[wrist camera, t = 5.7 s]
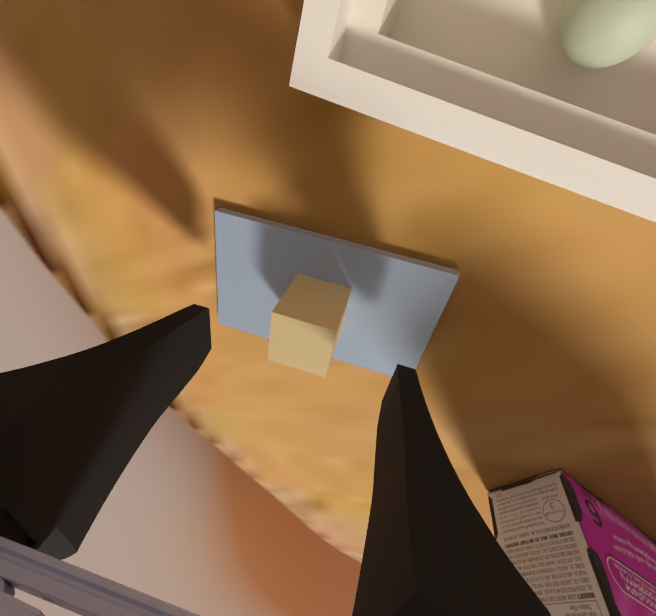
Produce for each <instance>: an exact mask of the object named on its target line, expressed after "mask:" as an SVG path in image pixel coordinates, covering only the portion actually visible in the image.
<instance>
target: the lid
mask: <svg viewBox="0 0 656 616" xmlns="http://www.w3.org/2000/svg"><path fill="white" fill-rule="evenodd" d="M215 237H216V265H217V293H218V321H219V324H221V325H224V326H227V327H231V328H234V329H237V330H241V331H244V332H247V333H251V334H254V335H257V336H260V337H264V338H267V339H269V347H268V358H267V360H270V361H273V362H276V363H279V364H283V365H286V366H289V367H292V368H295V369H299V370H302V371H305V372H308V373H312V374H315V375H318V376H321V377H326V374H327V371H328V369H329V366H330V363H331V360H332V358H333V359H336V360H340V361H343V362H346V363H350V364H353V365H356V366H359V367H363V368H366V369H369V370H373V371H376V372H379V373H383V374H386V375H389V376H393V374H394V371H395V369H396V366H397V364H400V365H403V366H407V367H410V368H413V369H416V367H417V365H418V363H419V360H420V358H421V356H422V354H423V352H424V350H425V348H426V346H427V344H428V342H429V339H430V337H431V335H432V333H433V331H434V329H435V327H436V325H437V323H438V321H439V318H440V316H441V314H442V312H443V310H444V308H445V306H446V304H447V302H448V300H449V297H450V295H451V293H452V291H453V289H454V287H455V285H456V283H457V281H458V279H459V276H460V275H459V270H457V269H453V268H449V267H445V266H441V265H438V264H434V263H430V262H426V261H422V260H419V259H415V258H411V257H407V256H404V255H400V254H396V253H392V252H388V251H385V250H381V249H377V248H373V247H369V246H366V245H362V244H358V243H354V242H351V241H347V240H343V239H339V238H335V237H332V236H328V235H324V234H320V233H316V232H313V231H309V230H305V229H301V228H298V227H294V226H290V225H286V224H282V223H279V222H275V221H271V220H267V219H263V218H260V217H256V216H252V215H248V214H244V213H241V212H237V211H233V210H229V209H226V208H222V207H220V208H218V209H217V210H215Z"/></svg>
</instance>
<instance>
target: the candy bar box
mask: <svg viewBox="0 0 656 616" xmlns="http://www.w3.org/2000/svg"><path fill="white" fill-rule="evenodd" d="M488 499H489V504H490V510H491V516H492V522H493V529H494V535H495V539H496V541H497V542H498V543H499V545H500V546H501V548H502V549H503V551H504V552H505V553H506V555H507V556H508V558H509V559H510V561H511V562H512V563H513V565H514V566H515V568H516V569H517V570H518V572H519V573H520V574H521V575H522V577H523V578H524V579H525V581H526V582H527V583H528V585H529V586H530V587H531V589H532V590H533V591H534V592H535V594H536V595H537V596H538V598H539V599H540V600H541V602H542V603H543V604H544V606H545V607H546V608H547V609H548V611H549V612H550V614H551V616H656V542H655V541H653V540H652V539H651V538H649V537H648V536H647V535H645V534H644V533H643V532H641V531H640V530H639V529H637V528H636V527H635V526H633V525H632V524H631V523H630V522H628V521H627V520H626V519H624V518H623V517H622V516H620V515H619V514H618V513H617V512H615V511H614V510H612V509H611V508H610V507H608V506H607V505H606V504H605V503H603V502H602V501H601V500H599V499H598V498H597V497H595V496H594V495H593V494H591V493H590V492H589V491H588V490H586V489H585V488H584V487H582V486H581V485H580V484H579V483H577V482H576V481H574V480H573V479H572V478H571V477H569V476H568V475H567V474H566V473H564V472H563V471H561V470H557V471H551V472H547V473H543V474H540V475H537V476H535V477H532V478H530V479H527V480H524V481H521V482H519V483H516V484H514V485H510V486H507V487H503V488H500V489H498V490H495V491H492V492H489V493H488Z"/></svg>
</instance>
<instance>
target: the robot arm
mask: <svg viewBox="0 0 656 616" xmlns="http://www.w3.org/2000/svg"><path fill="white" fill-rule="evenodd" d="M210 350H211V332H210V315H209V308H206V307H203V306H199V305H196V304H193V305H191V306H188V307H186V308H184V309H182V310H179V311H177V312H175V313H173V314H171V315H169V316H167V317H164V318H162V319H160V320H158V321H156V322H153V323H151V324H149V325H147V326H145V327H142V328H140V329H138V330H136V331H133V332H131V333H128V334H126V335H123V336H121V337H118V338H116V339H114V340H111V341H109V342H106V343H104V344H101V345H98V346H96V347H93V348H90V349H87V350H84V351H81V352H78V353H75V354H71V355H68V356H65V357H61V358H58V359H54V360H51V361H47V362H43V363H40V364H36V365H33V366H29V367H25V368H21V369H16V370H12V371H8V372H3V373H0V616H45V615H44V614H43V613H42V612H41V611H40V610H39V609H37V608H35V607H33V606H31V605H29V604H27V603H25V602H23V601H21V600H19V599H17V598H15V597H14V595H15V590H14V588H17V589H19V590H22V591H24V592H26V593H29V594H32V595H34V596H36V597H39V598H41V599H43V600H46V601H48V602H51V603H53V604H56V605H58V606H60V607H63V608H65V609H68V610H70V611H72V612H75V613H77V614H80V615H82V616H200V615H198V614H195V613H192V612H190V611H188V610H185V609H183V608H180V607H177V606H175V605H172V604H170V603H167V602H165V601H162V600H160V599H157V598H155V597H152V596H150V595H147V594H145V593H142V592H140V591H137V590H135V589H132V588H130V587H127V586H125V585H122V584H119V583H117V582H115V581H112V580H109V579H107V578H104V577H102V576H99V575H97V574H94V573H92V572H89V571H87V570H84V569H82V568H79V567H77V566H74V565H71V564H69V563H67V562H64V561H62V559H65V558H67V557H69V556H71V555H73V554H75V553H76V552H77V551H78V549H79V547H80V545H81V543H82V541H83V539H84V538H85V536H86V534H87V532H88V530H89V529H90V527H91V525H92V523H93V521H94V520H95V518H96V516H97V514H98V512H99V511H100V509H101V507H102V505H103V504H104V502H105V500H106V499H107V497H108V495H109V494H110V492H111V490H112V489H113V487H114V485H115V484H116V482H117V480H118V478H119V477H120V475H121V474H122V472H123V471H124V469H125V467H126V466H127V464H128V462H129V461H130V459H131V458H132V456H133V455H134V453H135V452H136V450H137V448H138V447H139V446H140V444H141V443H142V441H143V440H144V438H145V437H146V435H147V434H148V432H149V431H150V429H151V428H152V426H153V425H154V424H155V423H156V421H157V420H158V419H159V417H160V416H161V415H162V414H163V412H164V411H165V410H166V409H167V408H168V406H169V405H170V404H171V403H172V402H173V400H174V399H175V398H176V397H177V396H178V394H179V393H180V392H181V391H182V389H183V388H184V387H185V386H186V385H187V383H188V382H189V381H190V380H191V378H192V377H193V376H194V375H195V373H196V372H197V371H198V369H199V368H200V366H201V365H202V363H203V362H204V360H205V358H206V357H207V355H208V353H209V352H210ZM26 546H27V547H26ZM31 548H32V549H31ZM36 550H37V551H36ZM41 552H42V553H41ZM352 616H551V614H550V612H549V611H548V609H547V608H546V607H545V606H544V604H543V603H542V602H541V600H540V599H539V598H538V596H537V595H536V594H535V592H534V591H533V590H532V589H531V587H530V586H529V585H528V583H527V582H526V581H525V579H524V578H523V577H522V575H521V574H520V573H519V572H518V570H517V569H516V568H515V566H514V565H513V563H512V562H511V561H510V559H509V558H508V556H507V555H506V553H505V552H504V551H503V549H502V548H501V546H500V545H499V543H498V542H497V541H496V539H495V537H494V536H493V534H492V533H491V531H490V530H489V528H488V526H487V525H486V523H485V522H484V520H483V519H482V517H481V515H480V514H479V512H478V511H477V509H476V507H475V506H474V504H473V503H472V501H471V499H470V497H469V496H468V494H467V492H466V490H465V489H464V487H463V485H462V483H461V481H460V480H459V478H458V476H457V474H456V472H455V470H454V468H453V466H452V464H451V462H450V460H449V458H448V456H447V454H446V452H445V450H444V447H443V445H442V443H441V441H440V438H439V436H438V434H437V431H436V429H435V426H434V424H433V421H432V418H431V416H430V413H429V411H428V408H427V405H426V402H425V399H424V396H423V393H422V390H421V386H420V383H419V380H418V376H417V372H416V370H415V369H413V368H410V367H407V366H403V365H400V364H397V366H396V369H395V371H394V374H393V376H392V378H391V381H390V383H389V386H388V388H387V390H386V393H385V395H384V398H383V400H382V404H381V410H380V415H379V421H378V426H377V439H376V454H375V469H374V484H373V495H372V504H371V510H370V517H369V523H368V529H367V535H366V541H365V547H364V553H363V559H362V565H361V570H360V576H359V582H358V587H357V593H356V598H355V604H354V609H353V614H352Z"/></svg>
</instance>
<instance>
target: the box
mask: <svg viewBox="0 0 656 616" xmlns="http://www.w3.org/2000/svg"><path fill="white" fill-rule="evenodd" d="M289 86H290V87H293V88H295V89H298V90H301V91H304V92H306V93H309V94H312V95H314V96H317V97H320V98H322V99H325V100H328V101H330V102H333V103H336V104H339V105H341V106H344V107H347V108H349V109H352V110H355V111H357V112H360V113H363V114H365V115H368V116H371V117H373V118H376V119H379V120H382V121H384V122H387V123H390V124H392V125H395V126H398V127H400V128H403V129H406V130H408V131H411V132H414V133H417V134H419V135H422V136H425V137H427V138H430V139H433V140H435V141H438V142H441V143H443V144H446V145H449V146H452V147H454V148H457V149H460V150H462V151H465V152H468V153H470V154H473V155H476V156H478V157H481V158H484V159H487V160H489V161H492V162H495V163H497V164H500V165H503V166H505V167H508V168H511V169H513V170H516V171H519V172H522V173H524V174H527V175H530V176H532V177H535V178H538V179H540V180H543V181H546V182H548V183H551V184H554V185H557V186H559V187H562V188H565V189H567V190H570V191H573V192H575V193H578V194H581V195H583V196H586V197H589V198H591V199H594V200H597V201H600V202H602V203H605V204H608V205H610V206H613V207H616V208H618V209H621V210H624V211H626V212H629V213H632V214H635V215H637V216H640V217H643V218H645V219H648V220H651V221H653V222H656V0H304V4H303V10H302V15H301V21H300V27H299V32H298V38H297V43H296V49H295V55H294V60H293V66H292V71H291V77H290V82H289Z"/></svg>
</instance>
